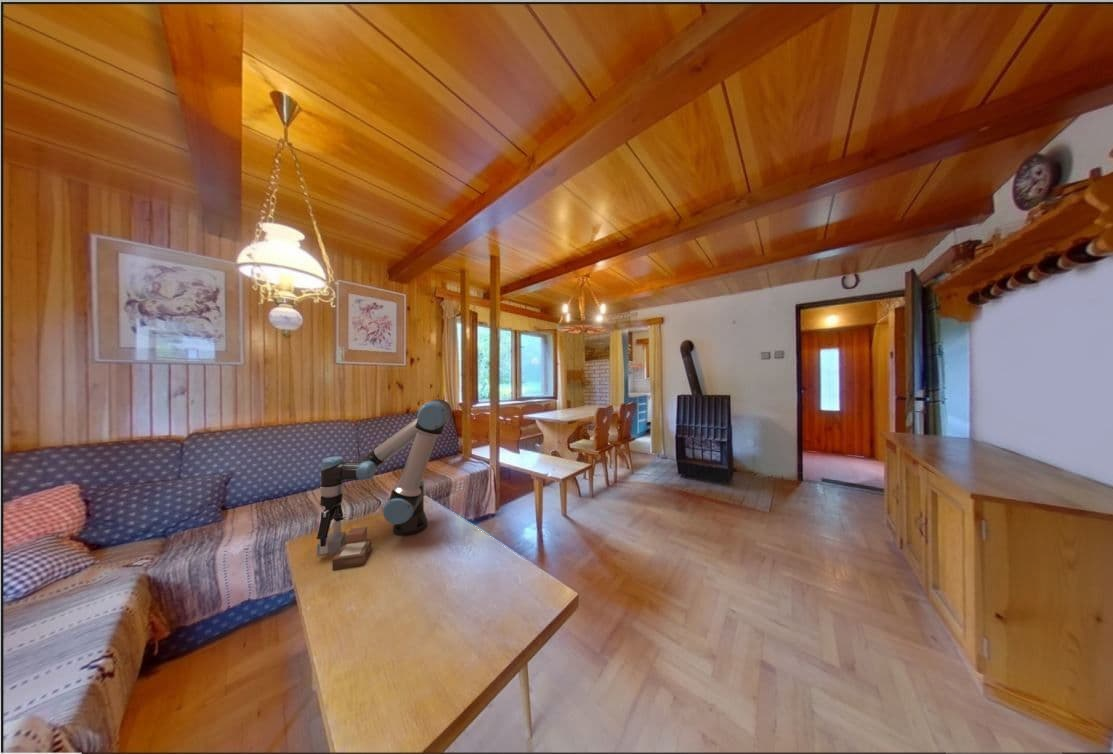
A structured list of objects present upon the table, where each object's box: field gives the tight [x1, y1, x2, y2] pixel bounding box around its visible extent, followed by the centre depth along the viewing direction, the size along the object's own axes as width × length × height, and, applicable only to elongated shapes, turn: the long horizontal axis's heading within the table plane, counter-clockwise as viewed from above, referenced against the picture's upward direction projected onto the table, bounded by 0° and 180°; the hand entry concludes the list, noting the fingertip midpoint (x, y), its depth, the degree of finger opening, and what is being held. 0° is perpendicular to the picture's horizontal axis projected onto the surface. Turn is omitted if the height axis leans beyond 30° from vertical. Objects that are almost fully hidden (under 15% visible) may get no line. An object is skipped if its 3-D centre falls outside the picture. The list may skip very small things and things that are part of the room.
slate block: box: [316, 531, 347, 557], centre depth 131 cm, size 8×8×5 cm
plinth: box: [332, 539, 372, 571], centre depth 123 cm, size 12×10×4 cm
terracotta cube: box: [346, 526, 368, 543], centre depth 134 cm, size 6×6×6 cm
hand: (330, 544), depth 131 cm, fingers open, 13 cm apart
